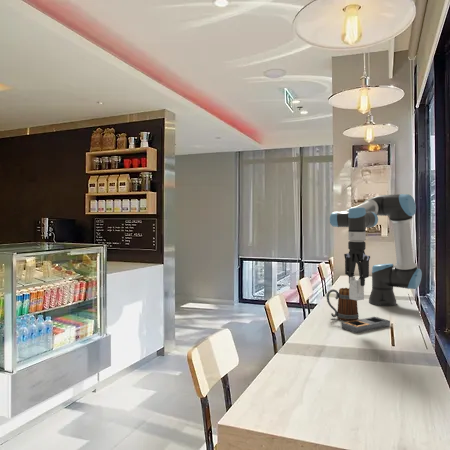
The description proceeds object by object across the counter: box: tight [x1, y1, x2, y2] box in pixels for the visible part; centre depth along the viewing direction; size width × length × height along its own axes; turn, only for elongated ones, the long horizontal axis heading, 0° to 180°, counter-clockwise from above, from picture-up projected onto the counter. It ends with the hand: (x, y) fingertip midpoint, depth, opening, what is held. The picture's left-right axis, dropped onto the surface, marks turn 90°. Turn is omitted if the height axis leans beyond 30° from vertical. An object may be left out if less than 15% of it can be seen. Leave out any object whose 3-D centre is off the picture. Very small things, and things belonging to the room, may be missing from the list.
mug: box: [326, 287, 360, 322], centre depth 203 cm, size 16×11×15 cm
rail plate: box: [341, 316, 391, 334], centre depth 188 cm, size 22×9×3 cm, turn 119°
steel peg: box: [348, 278, 365, 302], centre depth 184 cm, size 4×4×9 cm
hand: (356, 291), depth 184 cm, fingers closed on steel peg, 4 cm apart
